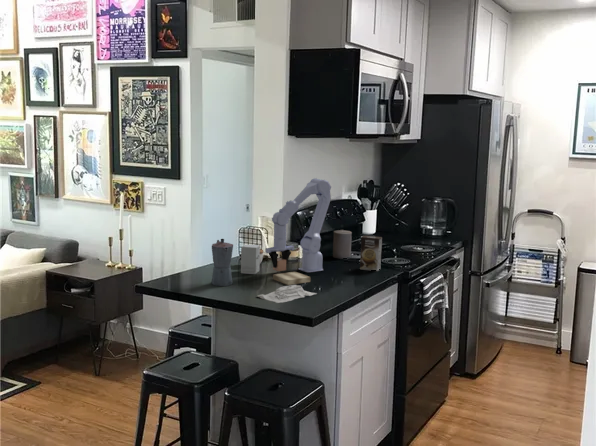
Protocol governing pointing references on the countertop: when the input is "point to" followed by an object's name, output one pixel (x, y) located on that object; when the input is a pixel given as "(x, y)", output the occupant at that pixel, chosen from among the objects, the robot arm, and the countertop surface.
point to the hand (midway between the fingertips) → (279, 266)
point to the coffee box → (370, 253)
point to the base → (291, 278)
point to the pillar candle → (342, 244)
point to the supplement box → (250, 259)
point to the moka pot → (222, 263)
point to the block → (280, 265)
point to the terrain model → (286, 294)
